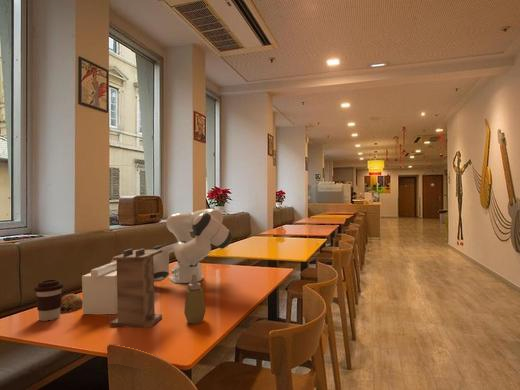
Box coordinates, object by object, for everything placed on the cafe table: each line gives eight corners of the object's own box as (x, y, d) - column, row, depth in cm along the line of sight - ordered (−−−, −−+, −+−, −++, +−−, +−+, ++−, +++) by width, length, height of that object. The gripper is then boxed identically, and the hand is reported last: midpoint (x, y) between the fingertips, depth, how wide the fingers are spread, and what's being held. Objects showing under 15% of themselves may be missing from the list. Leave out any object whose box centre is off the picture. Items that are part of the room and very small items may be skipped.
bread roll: (84, 315, 154) (90, 296, 157) (66, 311, 145) (73, 292, 149) (67, 313, 157) (73, 295, 160) (49, 310, 148) (55, 291, 152)
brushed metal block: (122, 264, 166) (122, 258, 166) (128, 264, 166) (128, 258, 166) (90, 277, 140) (90, 270, 140) (97, 277, 140) (97, 270, 140)
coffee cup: (45, 314, 145) (45, 278, 145) (68, 314, 145) (68, 278, 145) (29, 322, 135) (28, 284, 135) (54, 322, 135) (53, 284, 135)
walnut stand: (131, 311, 146) (130, 245, 146) (168, 311, 144) (166, 244, 144) (108, 327, 128) (107, 252, 128) (150, 328, 126) (148, 251, 127)
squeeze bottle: (185, 318, 136) (184, 272, 136) (206, 317, 137) (205, 271, 137) (183, 326, 128) (182, 277, 128) (205, 324, 129) (204, 276, 129)
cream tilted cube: (106, 301, 161) (105, 267, 161) (135, 301, 160) (134, 267, 160) (82, 314, 143) (81, 276, 143) (114, 315, 142) (114, 276, 142)
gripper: (119, 261, 181) (107, 251, 169) (157, 260, 179) (147, 251, 167) (116, 272, 178) (103, 263, 166) (155, 272, 176) (144, 263, 164)
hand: (126, 257), depth 166 cm, fingers open, 8 cm apart
